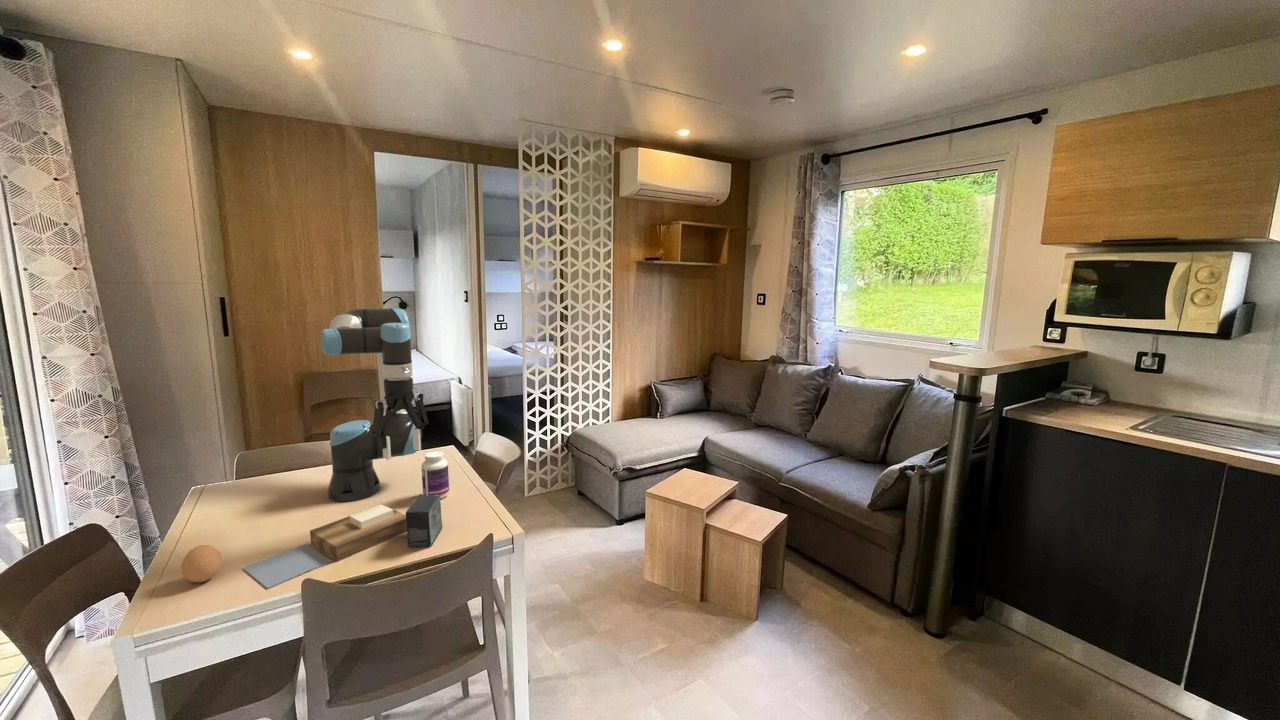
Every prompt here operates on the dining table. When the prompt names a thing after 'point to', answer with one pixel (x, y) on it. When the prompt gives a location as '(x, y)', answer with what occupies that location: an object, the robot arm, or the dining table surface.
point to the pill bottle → (435, 475)
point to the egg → (201, 563)
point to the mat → (286, 565)
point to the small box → (423, 521)
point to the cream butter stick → (371, 516)
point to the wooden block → (355, 535)
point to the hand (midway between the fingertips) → (402, 453)
